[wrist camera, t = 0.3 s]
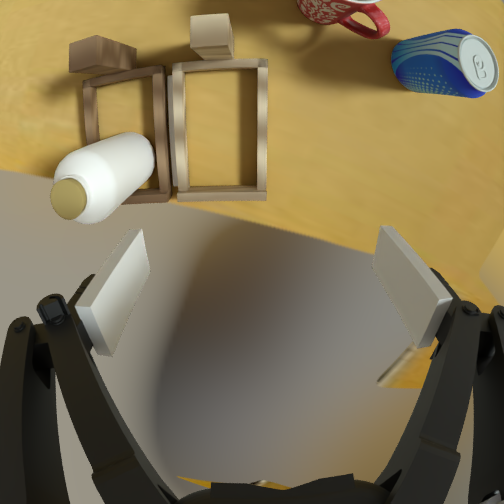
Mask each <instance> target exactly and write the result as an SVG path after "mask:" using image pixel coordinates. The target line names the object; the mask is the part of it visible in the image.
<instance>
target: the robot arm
mask: <svg viewBox="0 0 504 504" xmlns="http://www.w3.org/2000/svg"><path fill="white" fill-rule="evenodd" d="M372 269H373V271H374V272H375V274H376V275H377V277H378V278H379V280H380V282H381V284H382V286H383V287H384V289H385V291H386V292H387V294H388V296H389V298H390V299H391V301H392V303H393V305H394V306H395V308H396V310H397V312H398V313H399V315H400V317H401V319H402V321H403V323H404V324H405V326H406V328H407V330H408V332H409V334H410V336H411V338H412V340H413V342H414V343H415V345H416V347H417V348H422V347H428V346H431V344H432V342H433V340H434V338H435V336H436V338H437V340H438V341H439V343H438V345H437V346H436V348H435V350H434V352H433V354H432V356H431V357H430V359H431V360H432V362H431V365H430V368H429V371H428V374H427V376H426V379H425V382H424V385H423V388H422V390H421V393H420V396H419V398H418V400H417V403H416V406H415V408H414V410H413V413H412V415H411V417H410V420H409V422H408V424H407V426H406V428H405V431H404V433H403V435H402V437H401V439H400V441H399V443H398V445H397V447H396V449H395V451H394V453H393V455H392V457H391V459H390V461H389V462H388V465H387V466H386V468H385V469H384V471H383V472H382V473H381V475H380V476H379V477H378V478H377V480H376V481H375V482H374V484H373V483H370V482H366V481H361V480H354V477H353V473H352V474H347V475H341V476H335V477H328V478H322V479H318V480H315V481H312V482H309V483H306V484H303V485H300V486H297V487H294V488H291V489H287V490H278V489H272V488H267V487H261V486H256V485H251V484H244V483H243V484H241V483H239V484H238V483H213V482H211V488H210V489H205V490H201V491H197V492H194V493H192V494H189V495H187V496H185V497H183V498H181V499H180V500H179V499H178V498H177V497H176V496H175V495H174V493H173V492H172V491H171V490H170V489H169V487H168V486H167V485H166V484H165V483H164V481H163V480H162V479H161V478H160V476H159V475H158V473H157V472H156V470H155V469H154V468H153V466H152V465H151V463H150V462H149V460H148V459H147V457H146V456H145V454H144V453H143V451H142V450H141V448H140V446H139V445H138V443H137V442H136V440H135V438H134V437H133V435H132V434H131V432H130V430H129V428H128V427H127V425H126V423H125V422H124V420H123V418H122V416H121V415H120V413H119V411H118V409H117V407H116V405H115V403H114V401H113V399H112V398H111V396H110V394H109V392H108V390H107V388H106V386H105V384H104V382H103V380H102V377H101V375H100V373H99V371H98V369H97V367H96V364H95V362H94V360H93V357H92V355H91V354H90V351H91V349H92V346H93V347H94V349H95V351H96V352H97V354H98V355H104V356H113V354H114V352H115V349H116V347H117V344H118V342H119V339H120V337H121V335H122V332H123V330H124V328H125V326H126V323H127V321H128V319H129V316H130V314H131V312H132V310H133V307H134V305H135V303H136V301H137V299H138V296H139V294H140V292H141V290H142V288H143V286H144V284H145V281H146V280H147V278H148V275H149V273H150V267H149V262H148V258H147V253H146V248H145V243H144V238H143V233H142V229H129V230H128V232H127V233H126V234H125V236H124V237H123V238H122V239H121V241H120V242H119V243H118V245H117V246H116V248H115V249H114V250H113V251H112V253H111V254H110V256H109V257H108V258H107V260H106V261H105V263H104V264H103V265H102V266H101V268H100V269H99V271H98V272H97V274H91V275H90V276H89V277H87V278H86V279H85V280H84V281H83V282H82V284H81V285H80V286H79V288H78V289H77V291H76V292H75V294H74V295H73V297H72V298H71V299H70V301H69V302H68V304H66V302H65V299H64V297H63V296H62V295H60V294H51V295H48V296H46V297H45V298H43V299H42V300H41V301H40V302H39V303H38V305H37V312H38V313H39V316H40V317H41V319H42V321H43V323H42V324H36V325H33V323H32V321H31V320H30V319H29V317H26V316H24V317H20V318H17V319H16V320H14V321H13V322H12V323H11V324H10V326H9V328H8V331H7V336H6V340H5V345H4V349H3V354H2V359H1V365H0V504H70V501H69V497H68V492H67V487H66V482H65V477H64V471H63V466H62V459H61V453H60V444H59V436H58V425H57V414H56V412H57V411H56V388H55V387H56V386H55V372H56V375H57V379H58V382H59V385H60V389H61V391H62V395H63V398H64V401H65V404H66V407H67V409H68V412H69V415H70V418H71V420H72V423H73V425H74V428H75V430H76V433H77V435H78V438H79V440H80V442H81V445H82V447H83V449H84V451H85V454H86V456H87V458H88V460H89V462H90V464H91V466H92V469H93V474H92V480H93V482H94V484H95V486H96V488H97V490H98V492H99V494H100V496H101V497H102V499H103V501H104V503H105V504H443V503H444V501H445V498H446V496H447V494H448V491H449V489H450V486H451V484H452V481H453V479H454V476H455V473H456V470H457V468H458V465H459V462H460V453H458V452H457V451H456V449H457V445H458V441H459V438H460V435H461V432H462V428H463V424H464V421H465V417H466V413H467V409H468V404H469V400H470V395H471V391H472V386H473V398H474V438H473V456H472V467H471V476H470V484H469V494H468V504H504V307H503V306H499V305H497V306H494V308H493V310H492V312H491V314H487V313H481V311H480V310H479V308H478V307H477V306H476V305H475V304H473V303H471V302H469V301H461V299H460V298H459V297H458V295H457V294H456V293H455V292H454V290H453V289H452V288H451V287H450V286H449V284H448V283H447V282H446V281H445V279H444V278H443V277H442V276H441V274H440V273H438V272H437V271H436V270H434V269H433V268H429V267H428V266H427V265H426V264H425V263H424V261H423V260H422V259H421V258H420V257H419V256H418V254H417V253H416V252H415V251H414V250H413V249H412V247H411V246H410V245H409V244H408V243H407V242H406V241H405V240H404V239H403V237H402V236H401V235H400V234H399V233H398V232H397V231H396V230H395V229H394V228H393V227H392V226H380V230H379V235H378V240H377V245H376V250H375V255H374V260H373V264H372Z"/></svg>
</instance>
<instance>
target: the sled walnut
mask: <svg viewBox="0 0 504 504" xmlns="http://www.w3.org/2000/svg"><path fill="white" fill-rule="evenodd" d="M69 72H70V73H90V74H104V76H100V77H96V78H92V79H88V80H84V81H83V102H84V118H85V130H86V140H87V146H88V145H91V144H93V143H96V142H99V141H100V137H99V125H98V112H97V93H96V87H98V86H102V85H107V84H111V83H116V82H121V81H126V80H131V79H137V78H143V77H150V76H153V107H154V126H155V142H156V155H157V166H158V177H159V187H160V188H154V189H138V190H136V191H134V192H133V193H132V194H131V195H130V196H129V197H128V198H127V199H126V200H125V201H124V202H123V203H122V204H121V205H124V204H141V203H164V202H168V201H169V199H170V198H171V197H172V186H171V175H170V163H169V149H168V133H167V113H166V80H165V66H163V65H156V66H150V67H144V68H138V69H136V48H133V47H130V46H128V45H125V44H122V43H119V42H116V41H113V40H110V39H107V38H104V37H101V36H98V35H95V36H92V37H88V38H85V39H82V40H79V41H76V42H73V43H71V44H69Z"/></svg>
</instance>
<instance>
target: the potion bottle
mask: <svg viewBox="0 0 504 504" xmlns="http://www.w3.org/2000/svg"><path fill="white" fill-rule="evenodd" d="M154 167H155V153H154V149H153V147H152V145H151V143H150V142H149V140H147V139H146V138H145V137H144V136H143V135H140V134H138V133H135V132H124V133H121V134H118V135H115V136H112V137H110V138H107V139H104V140H101V141H99V142H96V143H93V144H91V145H88V146H86V147H83V148H81V149H78V150H76V151H73V152H71V153H69V154H68V155H67V156H66V157H65V158H64V159H63V160H62V161H61V162H60V163H59V165H58V167H57V169H56V171H55V175H54V181H53V188H52V190H51V195H50V198H51V203H52V206H53V209H54V210H55V212H56V213H57V214H58V215H59V216H60V217H62V218H64V219H68V220H75V221H76V222H79V223H82V224H93V223H97V222H100V221H102V220H104V219H105V218H106V217H108V216H109V215H110V214H111V213H112V212H113V211H114V210H115V209H116V208H117V207H118V206H120V205H121V204H122V203H123V202H124V201H125V200H126V199H127V198H128V197H129V196H130V195H131V194H132V193H133V192H134V191H136V190H137V189H138V188H139V187H140V186H141V185H142V184H143V183H144V182H146V181H147V179H148V178H149V177H150V176H151V174H152V172H153V169H154Z"/></svg>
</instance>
